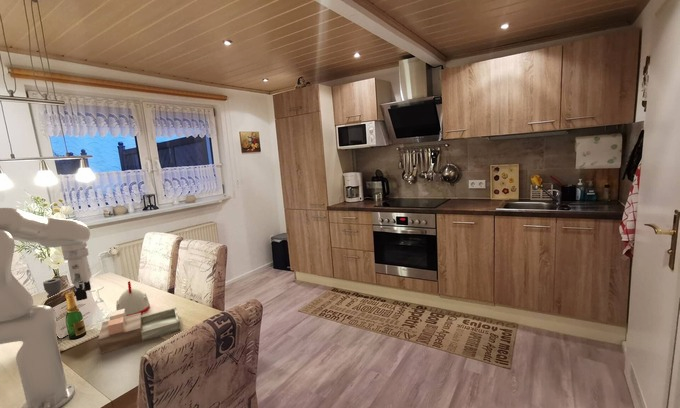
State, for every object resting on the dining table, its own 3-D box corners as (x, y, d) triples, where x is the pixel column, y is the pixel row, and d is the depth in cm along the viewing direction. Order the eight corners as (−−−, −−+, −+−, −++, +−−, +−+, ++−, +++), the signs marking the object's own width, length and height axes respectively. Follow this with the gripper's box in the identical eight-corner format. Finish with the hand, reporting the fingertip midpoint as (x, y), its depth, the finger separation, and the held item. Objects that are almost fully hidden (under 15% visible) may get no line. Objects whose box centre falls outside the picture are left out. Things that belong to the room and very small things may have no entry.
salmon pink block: (124, 331, 130) (122, 322, 129) (109, 335, 127) (107, 326, 127) (125, 325, 134) (123, 316, 133) (110, 329, 131) (108, 320, 131)
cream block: (125, 321, 137) (124, 313, 137) (111, 325, 135) (109, 316, 134) (126, 317, 142) (124, 308, 141) (112, 320, 139) (110, 312, 138)
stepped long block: (180, 330, 140) (178, 317, 139) (100, 353, 126) (97, 339, 125) (177, 315, 153) (175, 303, 152) (105, 335, 139) (102, 322, 138)
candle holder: (50, 340, 138) (38, 284, 134) (59, 332, 144) (47, 279, 140) (68, 337, 139) (56, 282, 135) (75, 329, 145) (64, 277, 141)
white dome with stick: (149, 302, 170) (144, 275, 167) (150, 312, 158) (146, 283, 156) (117, 310, 162) (112, 282, 160) (116, 321, 151) (111, 291, 149)
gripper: (84, 257, 119) (92, 300, 122) (91, 246, 134) (98, 285, 137) (58, 261, 115) (67, 306, 118) (68, 250, 130) (76, 290, 133)
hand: (84, 295), depth 127 cm, fingers open, 9 cm apart
